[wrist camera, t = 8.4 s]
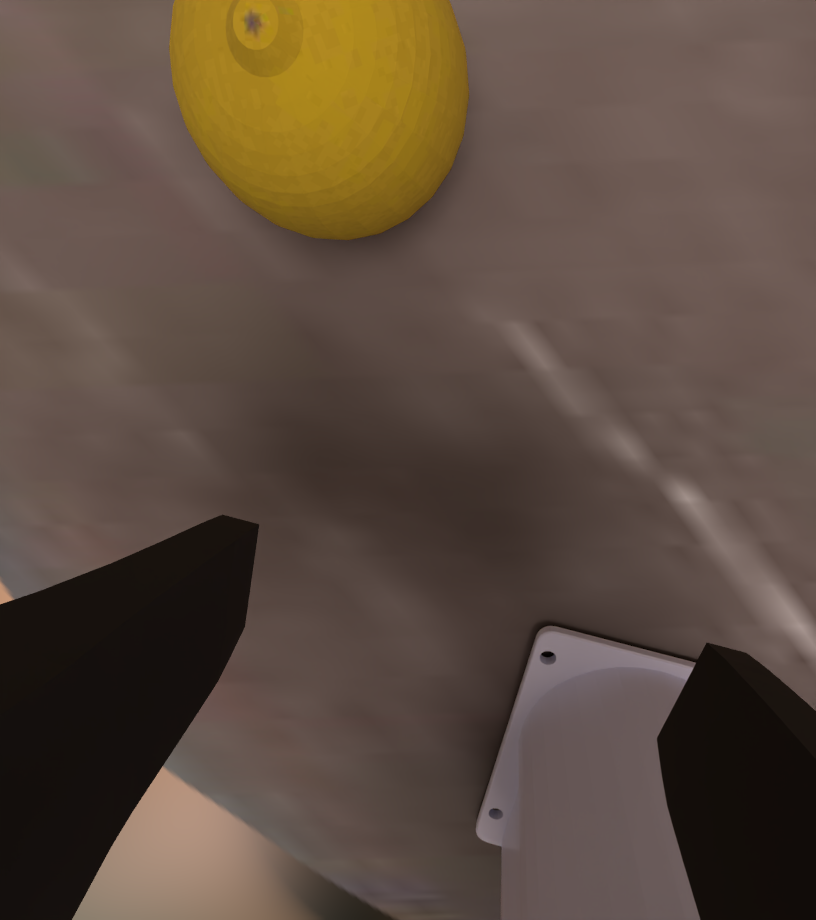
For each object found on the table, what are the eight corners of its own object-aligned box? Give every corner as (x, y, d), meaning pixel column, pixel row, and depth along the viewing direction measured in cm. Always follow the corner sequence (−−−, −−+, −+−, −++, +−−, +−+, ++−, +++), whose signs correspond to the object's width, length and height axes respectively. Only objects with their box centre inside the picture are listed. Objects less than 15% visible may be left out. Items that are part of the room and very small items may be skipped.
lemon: (244, 65, 16) (8, -114, 8) (442, -27, 15) (373, -336, 7) (315, 271, 17) (167, 278, 10) (502, 206, 16) (497, 153, 8)
